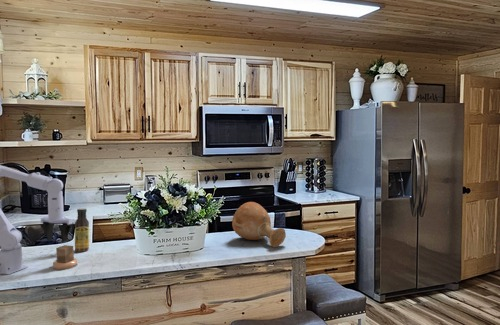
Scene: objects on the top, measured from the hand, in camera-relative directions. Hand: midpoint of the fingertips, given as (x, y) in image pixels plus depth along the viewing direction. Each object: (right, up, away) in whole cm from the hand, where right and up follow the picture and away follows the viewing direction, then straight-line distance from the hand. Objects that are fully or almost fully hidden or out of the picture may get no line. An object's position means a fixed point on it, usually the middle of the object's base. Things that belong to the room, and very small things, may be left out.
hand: (57, 240), depth 165 cm
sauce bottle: (+2, -9, +21) cm, 23 cm away
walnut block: (+4, -8, -1) cm, 9 cm away
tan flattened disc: (+4, -10, -1) cm, 11 cm away
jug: (+84, -7, +32) cm, 91 cm away
